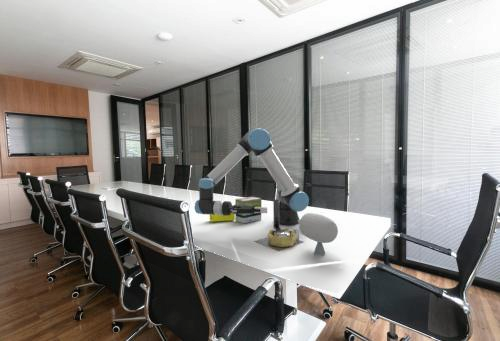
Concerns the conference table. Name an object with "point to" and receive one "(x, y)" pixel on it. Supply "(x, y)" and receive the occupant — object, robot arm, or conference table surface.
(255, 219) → the tea box
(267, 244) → the plate
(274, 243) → the tan base with handle
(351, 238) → the conference table surface
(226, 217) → the yellow toy chassis
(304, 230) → the grey oval on stand
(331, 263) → the conference table surface
